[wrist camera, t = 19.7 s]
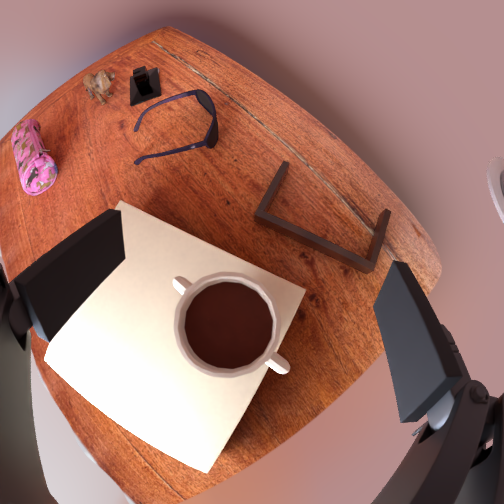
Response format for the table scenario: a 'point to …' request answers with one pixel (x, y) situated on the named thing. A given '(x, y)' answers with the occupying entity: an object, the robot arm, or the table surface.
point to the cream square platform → (159, 343)
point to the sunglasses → (208, 142)
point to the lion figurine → (99, 84)
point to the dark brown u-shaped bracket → (314, 240)
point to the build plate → (144, 85)
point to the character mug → (227, 325)
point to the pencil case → (32, 158)
